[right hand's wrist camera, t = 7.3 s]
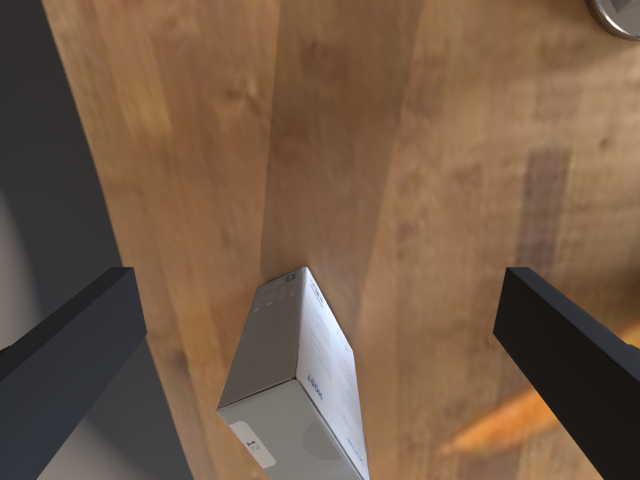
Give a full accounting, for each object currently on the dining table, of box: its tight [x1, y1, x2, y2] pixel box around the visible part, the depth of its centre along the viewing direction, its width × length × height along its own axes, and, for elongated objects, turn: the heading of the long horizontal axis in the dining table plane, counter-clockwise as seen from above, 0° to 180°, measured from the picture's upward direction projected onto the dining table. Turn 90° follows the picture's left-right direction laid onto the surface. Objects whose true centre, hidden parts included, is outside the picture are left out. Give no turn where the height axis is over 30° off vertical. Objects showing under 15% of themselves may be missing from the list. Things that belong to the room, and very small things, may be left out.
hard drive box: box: [216, 267, 370, 480], centre depth 39 cm, size 16×8×20 cm, turn 26°
